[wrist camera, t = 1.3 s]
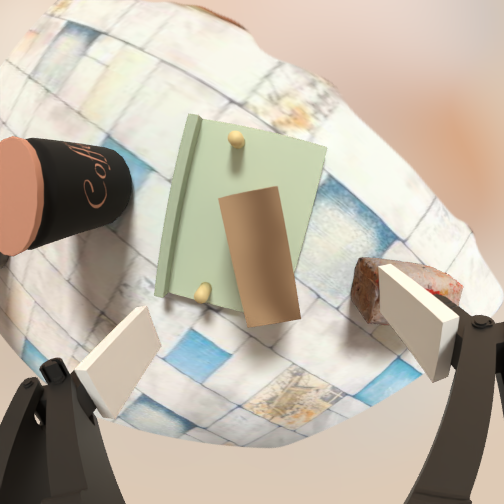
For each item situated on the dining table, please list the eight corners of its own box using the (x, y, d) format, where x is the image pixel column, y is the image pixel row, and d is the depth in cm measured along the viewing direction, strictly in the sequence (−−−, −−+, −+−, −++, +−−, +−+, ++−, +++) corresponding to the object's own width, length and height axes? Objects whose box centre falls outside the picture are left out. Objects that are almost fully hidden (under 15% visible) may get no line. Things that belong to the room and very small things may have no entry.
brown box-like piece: (252, 292, 34) (247, 327, 25) (231, 194, 31) (218, 198, 23) (293, 284, 33) (301, 318, 25) (275, 185, 31) (278, 186, 22)
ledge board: (163, 285, 36) (151, 298, 32) (196, 120, 31) (185, 111, 26) (279, 315, 36) (280, 332, 32) (324, 148, 31) (333, 143, 26)
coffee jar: (147, 203, 34) (53, 225, 16) (91, 236, 35) (-1, 273, 18) (119, 133, 32) (23, 111, 14) (67, 172, 33) (-27, 178, 16)
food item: (438, 261, 33) (478, 284, 24) (424, 312, 35) (457, 344, 26) (357, 250, 34) (387, 273, 24) (344, 307, 36) (366, 345, 26)
